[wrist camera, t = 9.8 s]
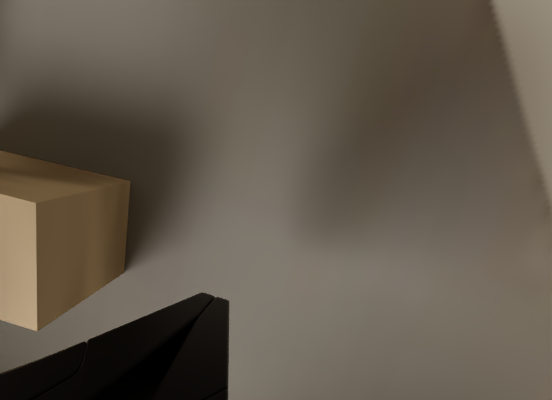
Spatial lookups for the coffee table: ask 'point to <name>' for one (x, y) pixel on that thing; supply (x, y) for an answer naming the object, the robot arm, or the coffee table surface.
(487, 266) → the coffee table surface
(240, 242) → the coffee table surface
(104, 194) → the block
